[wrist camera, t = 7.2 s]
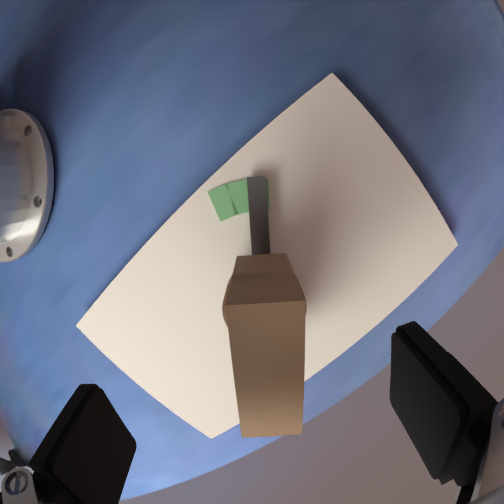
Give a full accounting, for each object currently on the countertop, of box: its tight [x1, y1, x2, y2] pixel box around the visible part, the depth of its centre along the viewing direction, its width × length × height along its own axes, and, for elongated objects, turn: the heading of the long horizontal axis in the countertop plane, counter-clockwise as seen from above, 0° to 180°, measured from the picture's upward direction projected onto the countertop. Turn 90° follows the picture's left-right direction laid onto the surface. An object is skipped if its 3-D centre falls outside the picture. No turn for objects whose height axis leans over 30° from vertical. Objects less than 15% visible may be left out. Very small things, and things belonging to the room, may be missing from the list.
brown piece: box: [222, 176, 307, 437], centre depth 13 cm, size 10×4×8 cm, turn 4°
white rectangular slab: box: [76, 73, 458, 439], centre depth 18 cm, size 24×14×2 cm, turn 133°
